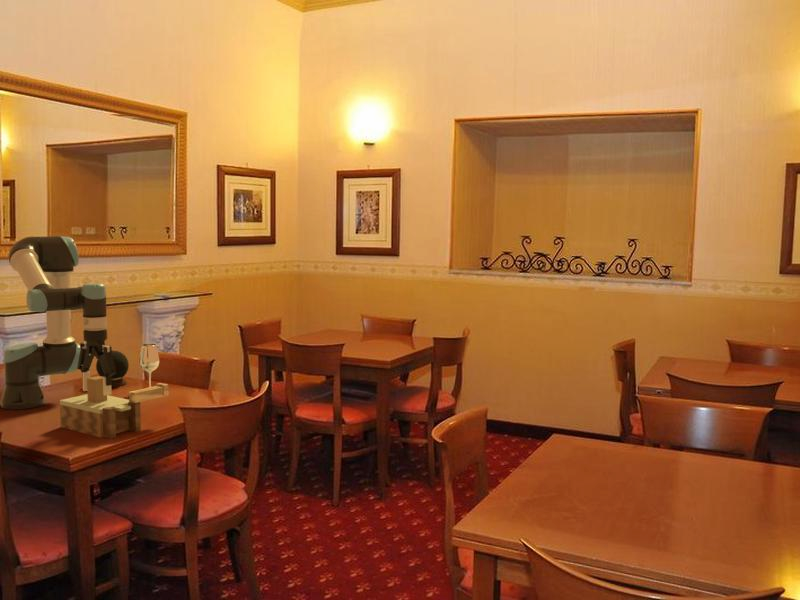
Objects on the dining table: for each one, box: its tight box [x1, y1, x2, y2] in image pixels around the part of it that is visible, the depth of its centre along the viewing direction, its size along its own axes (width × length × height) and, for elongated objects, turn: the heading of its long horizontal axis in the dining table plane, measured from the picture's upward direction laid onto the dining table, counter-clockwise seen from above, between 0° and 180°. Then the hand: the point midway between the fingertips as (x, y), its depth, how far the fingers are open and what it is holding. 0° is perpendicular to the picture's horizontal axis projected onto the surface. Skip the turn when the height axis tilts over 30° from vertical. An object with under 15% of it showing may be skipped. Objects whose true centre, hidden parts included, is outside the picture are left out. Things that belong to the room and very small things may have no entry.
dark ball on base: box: [95, 350, 130, 389], centre depth 326 cm, size 13×13×15 cm
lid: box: [59, 375, 131, 414], centre depth 259 cm, size 26×14×10 cm, turn 58°
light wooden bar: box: [128, 382, 169, 403], centre depth 262 cm, size 4×14×4 cm, turn 148°
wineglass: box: [139, 343, 160, 388], centre depth 313 cm, size 8×8×20 cm
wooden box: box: [59, 402, 142, 440], centre depth 260 cm, size 26×14×10 cm, turn 58°
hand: (97, 392), depth 260 cm, fingers open, 10 cm apart
